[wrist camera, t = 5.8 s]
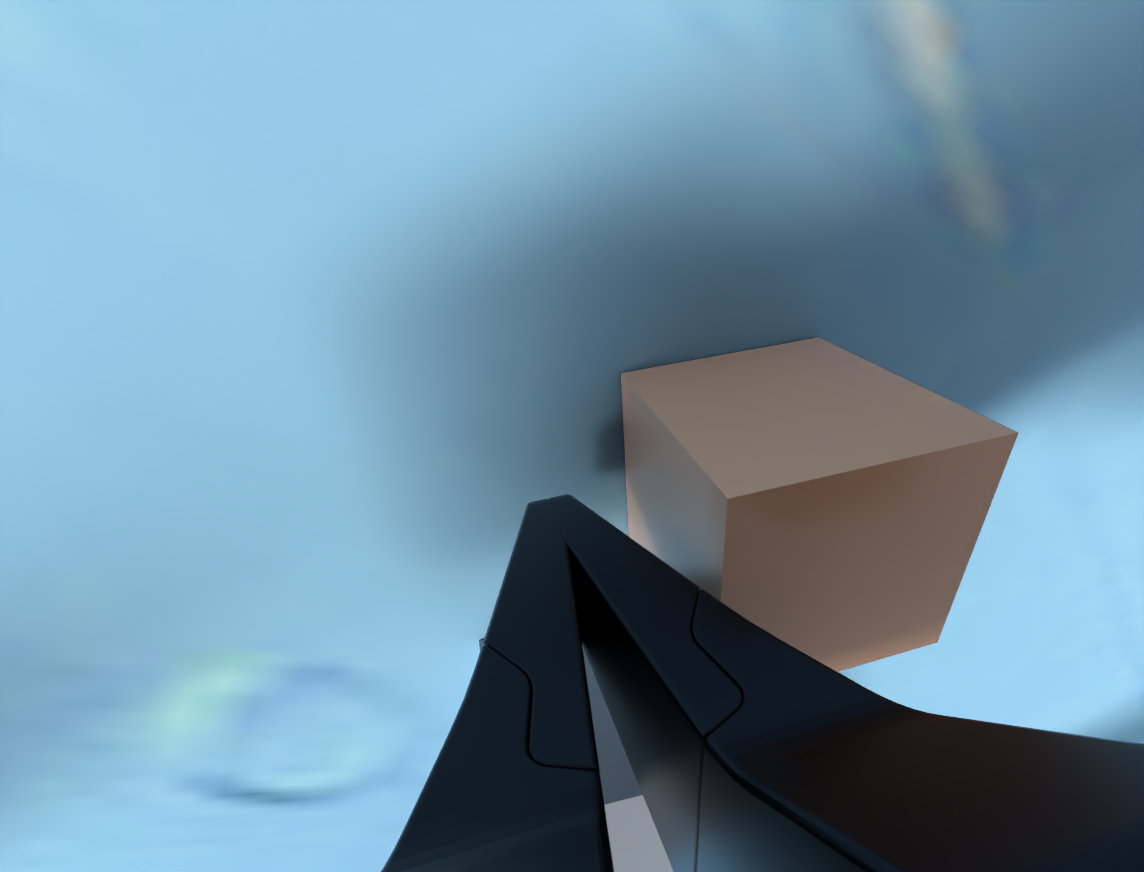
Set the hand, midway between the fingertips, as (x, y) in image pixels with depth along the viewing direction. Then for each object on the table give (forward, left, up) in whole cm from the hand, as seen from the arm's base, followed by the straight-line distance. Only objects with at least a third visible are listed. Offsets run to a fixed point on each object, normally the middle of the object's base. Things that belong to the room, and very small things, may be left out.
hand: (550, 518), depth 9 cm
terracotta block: (0, -4, -1) cm, 4 cm away
